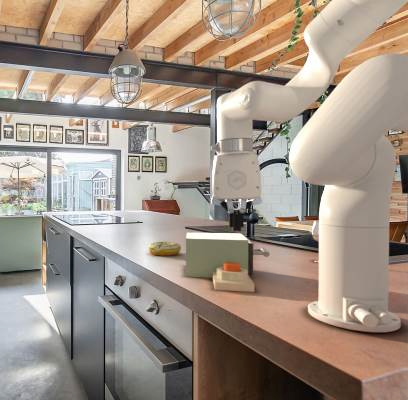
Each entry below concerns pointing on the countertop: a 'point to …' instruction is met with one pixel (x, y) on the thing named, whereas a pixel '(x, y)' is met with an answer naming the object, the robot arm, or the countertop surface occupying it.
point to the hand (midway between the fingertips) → (236, 230)
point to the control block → (232, 280)
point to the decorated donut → (164, 248)
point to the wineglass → (316, 233)
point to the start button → (231, 267)
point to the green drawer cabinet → (214, 252)
